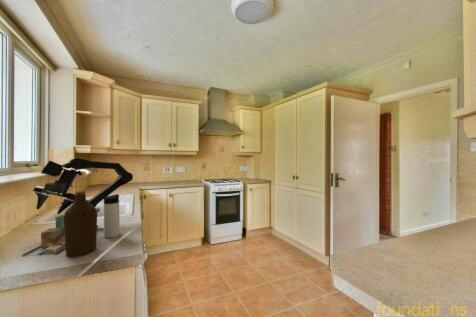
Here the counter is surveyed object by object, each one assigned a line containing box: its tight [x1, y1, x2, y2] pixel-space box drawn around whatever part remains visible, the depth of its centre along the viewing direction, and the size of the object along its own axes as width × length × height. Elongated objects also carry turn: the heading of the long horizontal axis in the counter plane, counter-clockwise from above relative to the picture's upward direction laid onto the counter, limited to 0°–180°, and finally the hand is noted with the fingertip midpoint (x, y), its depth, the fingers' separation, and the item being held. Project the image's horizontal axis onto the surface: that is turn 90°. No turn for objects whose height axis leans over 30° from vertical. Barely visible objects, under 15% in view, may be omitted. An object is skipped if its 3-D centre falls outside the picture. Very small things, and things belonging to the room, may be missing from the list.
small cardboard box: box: [45, 245, 63, 254], centre depth 81 cm, size 4×4×2 cm
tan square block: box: [56, 240, 65, 247], centre depth 86 cm, size 4×4×2 cm
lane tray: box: [21, 239, 66, 257], centre depth 87 cm, size 12×19×2 cm, turn 4°
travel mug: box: [103, 194, 121, 239], centre depth 97 cm, size 6×7×20 cm
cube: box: [40, 227, 62, 245], centre depth 87 cm, size 5×5×5 cm
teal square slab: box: [40, 214, 65, 248], centre depth 89 cm, size 4×10×10 cm, turn 4°
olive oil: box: [63, 190, 98, 259], centre depth 80 cm, size 11×11×25 cm
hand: (47, 211), depth 96 cm, fingers open, 9 cm apart
